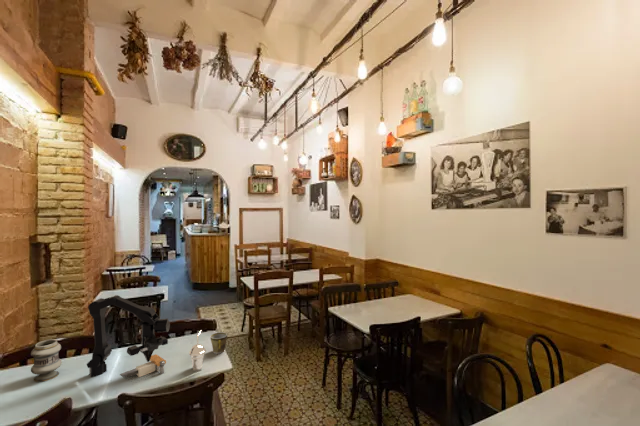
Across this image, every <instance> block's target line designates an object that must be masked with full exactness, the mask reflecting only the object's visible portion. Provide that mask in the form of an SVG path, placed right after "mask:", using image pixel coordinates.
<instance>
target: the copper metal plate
mask: <svg viewBox="0 0 640 426" xmlns="http://www.w3.org/2000/svg"><path fill="white" fill-rule="evenodd" d="M149 362H153V363H154V364H156V365H157V366H164V367H165V365H166V364H167V360H165V359H164V358H162V357H161V356H160V355H158V354H152V356H151V358H150V361H149Z"/></svg>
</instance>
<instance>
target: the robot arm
mask: <svg viewBox="0 0 640 426" xmlns="http://www.w3.org/2000/svg"><path fill="white" fill-rule="evenodd" d="M110 306H115V307H117V308H120V309H123V310H124V311H126V312H129V313H131V314H133V315H135V317H136V318H137V319H139V320H140V321H139V323H137V324H136V325H137V326H140V327H141V334H140V337H141V341H140V344H141V345H139V346H138V345H135V344H134V345H132V346H129V347H127V349H126V354H128V355H129V356H130V357H133V356H135V355H138V354H139V353H142V354H143V356H144V358H145V360H146V363H148V362H151V361H150V358H151V356H152V355H153V353H154V351H155V350H158V349H159V347H160V346H165V345H168V344H169V339H168V338H167V337H165V336H160V337H156V334H155V333H168V332H169V330H170V327H171V323H170V321H169V317H167V318H160V316H159V315H158V314H157V312H156V310H155V308H153V307H150V306H143V305H140V304H137V303H135V302H133V301H131V300H128V299H126V298H124V297H122V296H120V295H117V294H115V295H114V296H111V297H107V298H104V297H103V298H102V297H101V298H97V299H95V300H94V301H92V302H91V303H89V304H88V312H89V315H90V316H91V318H92V319H93V332H94V334H93V335H94V348H93V350H92V355H91V359H90V360H89V361H87V363H86V366H87V369H89V374H88V376H90V377H91V378H92V377H98V376H100V375H103V374H104V373H106V372H107V371H108V370H107V363H106V360H107V359H108V358H109V356H110V355H111V353H112V351H113V350H112V343H108V342H107V334H106V333H107V332H106V321H105V319H106V318H105V316H106V313H107V310H108V307H110Z"/></svg>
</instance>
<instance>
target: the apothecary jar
mask: <svg viewBox="0 0 640 426" xmlns="http://www.w3.org/2000/svg"><path fill="white" fill-rule="evenodd" d="M61 349H62V345H61V344H60V343H59V342H58V340H57V339H45V340H42V341H39V342H37V343H36V344H35V346H34V348H33V349H32V350H31V352H30V356H31V357H32V358H33V365H31V368H30V372H31V373H32V374H33V375H36V376H35V377H34V378H33V381H34V382H36V383H39V382H46V381H50V380H52V379H53V380H54V379H55V378H56V377H58V376H59V374H60V372H59V371H57V370H58V369H59V368H60V367H61V365H63V364H62V363H63V361H62V359H61V358H59V357H60V356H59V352H60V350H61Z"/></svg>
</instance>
